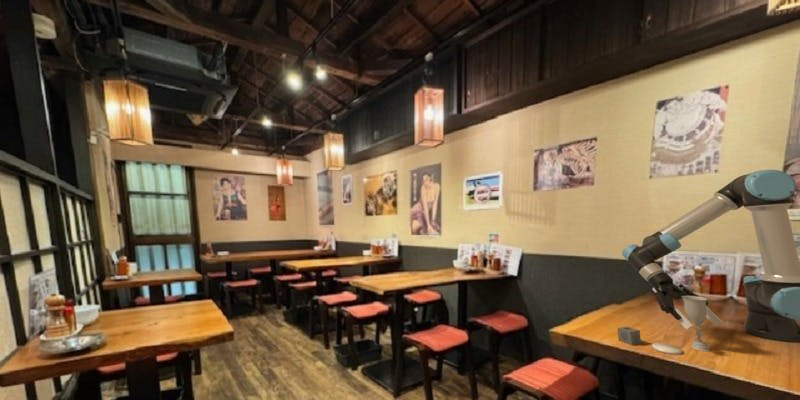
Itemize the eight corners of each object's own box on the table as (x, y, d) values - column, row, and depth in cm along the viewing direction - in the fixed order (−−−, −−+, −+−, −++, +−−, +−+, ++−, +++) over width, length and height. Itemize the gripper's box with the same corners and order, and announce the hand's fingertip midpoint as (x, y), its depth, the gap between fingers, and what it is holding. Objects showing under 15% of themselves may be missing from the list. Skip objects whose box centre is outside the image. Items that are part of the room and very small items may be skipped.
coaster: (676, 347, 109) (675, 344, 109) (686, 356, 102) (686, 353, 102) (649, 344, 112) (648, 341, 112) (657, 352, 105) (656, 350, 105)
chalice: (708, 354, 103) (701, 301, 105) (683, 347, 109) (677, 297, 111) (718, 349, 106) (711, 298, 108) (693, 343, 112) (687, 295, 114)
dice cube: (627, 339, 118) (626, 326, 119) (641, 343, 114) (639, 330, 114) (618, 341, 117) (617, 327, 117) (631, 345, 112) (630, 331, 113)
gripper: (674, 280, 127) (722, 327, 111) (626, 284, 122) (669, 334, 106) (686, 269, 122) (739, 317, 106) (637, 273, 117) (684, 323, 101)
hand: (704, 325), depth 106 cm, fingers open, 13 cm apart
